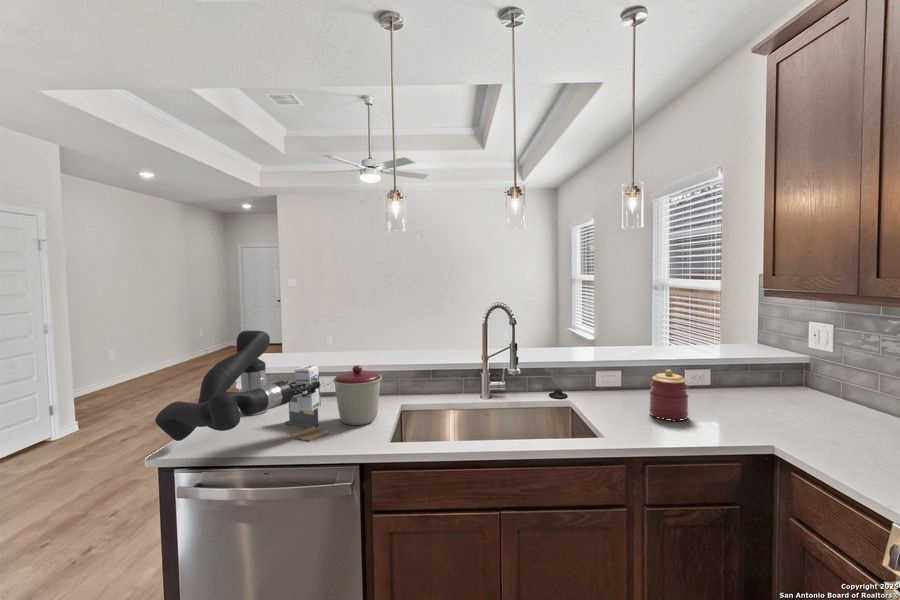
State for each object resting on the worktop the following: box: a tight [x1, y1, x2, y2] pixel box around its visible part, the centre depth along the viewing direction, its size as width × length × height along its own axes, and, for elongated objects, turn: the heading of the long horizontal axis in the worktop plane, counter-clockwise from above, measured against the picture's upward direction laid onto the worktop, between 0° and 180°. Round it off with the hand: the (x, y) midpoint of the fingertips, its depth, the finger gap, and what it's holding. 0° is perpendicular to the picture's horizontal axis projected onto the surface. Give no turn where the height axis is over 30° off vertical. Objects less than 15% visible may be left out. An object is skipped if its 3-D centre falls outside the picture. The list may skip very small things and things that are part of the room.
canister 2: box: [648, 368, 690, 420], centre depth 161 cm, size 13×13×18 cm
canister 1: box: [332, 365, 383, 426], centre depth 162 cm, size 18×18×21 cm
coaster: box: [289, 427, 330, 442], centre depth 149 cm, size 9×9×1 cm
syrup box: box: [294, 364, 322, 411], centre depth 149 cm, size 6×6×14 cm
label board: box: [284, 396, 319, 428], centre depth 159 cm, size 13×3×10 cm, turn 64°
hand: (311, 383), depth 150 cm, fingers closed on syrup box, 6 cm apart
